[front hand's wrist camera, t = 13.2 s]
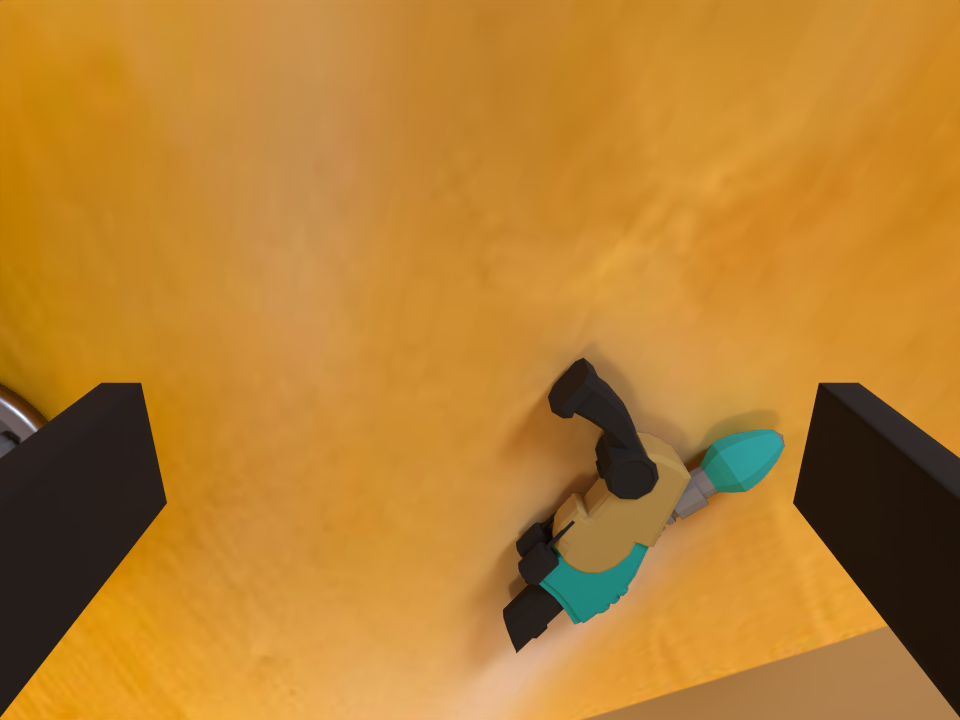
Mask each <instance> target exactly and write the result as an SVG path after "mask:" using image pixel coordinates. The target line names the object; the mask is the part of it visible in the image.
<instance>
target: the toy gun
mask: <svg viewBox="0 0 960 720" xmlns="http://www.w3.org/2000/svg"><path fill="white" fill-rule="evenodd" d="M548 399H549V403H550V407H551V410H552V412H553V413H555V414H556V415H558V416H560V417H562V418H572V417H573V414H574V413H576V414H578V415H580V416H582V417H584V418H586V419H588V420H590V421H591V422H593V423H594V424H596V425H597V426H599V427H600V428H602V429H603V430H604V435H603V436H601V438H600V440H599V442H598V444H597V446H596V448H595V451H596V455H597V459H598V460H597V461H596V465H597V469H598V472H599V475H600V477H599V479H598V480H597V481H596V482H595V484H594V485H593V486H592V487H591V488H590V490H589V491H588V492H587V493H586V495H585V496H583V497H581V496H580V493H575V492H573V494H572V495H571V496H570V497H569V498H568V499H567V500H566V502H565V503H564V504H563V505H562V506H561V507H560V508H559V509H558V510H557V511H556V512H555V513H554V514H553V515H552V516H551V517H550V518H549V519H548V520H547V521H546V522H545V523H544V524H541V523H538V522H537V523H535V524H534V525H533V526H532V527H531V528H530V529H529V530H528V531H527V532H526V533H525V534H524V535H523V536H522V537H521V538H520V539H519V540H518V541H517V542H516V547H517V551H518V553H519V554H520V556H521V557H522V558H523V559H522V560H521V561H520V562H519V563H518V567H519V572H520V574H521V575H522V577H523V578H524V579H525V582H526V583H527V584H529V583H530V584H529V585H528V586H527V587H526V588H525V589H524V590H523V591H522V592H521V593H520V594H519V595H518V596H517V597H516V598H515V599H514V600H513V601H511V602H510V603H509V604H508V605H507V606H506V607H505V608H504V609H503V618H504V621H505V624H506V627H507V631H508V633H509V636H510V638H511V641H512V643H513V646H514V648H515V650H516V653H517V652H518V651H519V650H521V649H522V648H523V647H524V646H525V645H526V644H527V643H528V642H529V641H530V640H531V639H532V638H537V637H539V636H540V635H541V634H542V633H543V632H544V631H545V630H546V629H547V624H548V623H549V622H550V621H551V620H552V619H553V618H554V617H556V616H557V615H558V614H559V613H560V612H561V611H562V610H563V609H565V611H566V612H567V614H568V615H569V617H570V618H571V620H572V621H573V623H574V624H577V623H579V622H582V623H585V622H586V621H588V620H589V619H590V618H592V617H593V616H595V615H596V614H597V613H603V612H605V611H606V610H608V609H609V607H610V604H615V603H616V602H617V601H618V600H619V599H620V596H624V595H625V594H626V593H627V591H628V585H629V584H630V582H631V581H632V580H633V578H634V577H635V575H636V573H637V571H638V569H639V567H640V564H641V562H642V560H643V558H644V556H645V554H646V552H647V550H648V547H653V546H654V545H655V543H656V541H657V539H658V538H659V537H660V534H661V532H662V531H663V530H665V527H664V526H665V524H666V523H668V524H669V525H671V524H672V523H674V522H676V519H675V518H677V517H679V516H680V517H681V518H682V519H684V518H686V517H687V516H689V515H691V514H693V513H694V512H696V511H698V510H700V509H701V508H703V507H705V506H706V505H708V504H709V503H708V502H707V500H706V499H707V498H709V497H710V496H712V495H714V494H716V493H717V492H732V493H734V492H746V491H748V490H749V489H751V488H752V487H754V486H755V485H756V484H758V483H759V482H760V481H761V480H762V479H763V478H764V477H765V476H766V475H767V473H768V472H769V471H770V469H771V468H772V467H773V466H774V464H775V463H776V462H777V460H778V459H779V457H780V455H781V453H782V450H783V448H784V446H785V445H784V440H783V435H781V434H779V433H778V432H776V431H774V430H753V431H748V432H743V433H737V434H733V435H730V436H727V437H725V438H722V439H720V440H718V441H716V442H714V443H713V444H712V445H711V446H710V448H709V450H708V451H707V453H706V455H705V457H704V459H703V461H702V463H701V465H700V466H699V467H697V468H696V469H694V470H692V471H690V472H688V471H687V469H686V467H685V466H684V464H683V462H682V460H681V459H680V457H679V455H678V454H677V453H676V452H675V450H674V449H673V448H672V447H671V446H670V445H669V444H667V443H666V442H664V441H663V440H661V439H659V438H657V437H655V436H653V435H651V434H646V433H639V432H636V430H635V426H634V424H633V422H632V420H631V417H630V415H629V413H628V411H627V409H626V407H625V405H624V403H623V402H622V400H621V399H620V398H619V397H618V396H617V395H616V393H615V392H614V391H613V390H612V389H611V387H610V386H609V385H608V384H607V383H606V382H604V381H603V380H602V379H600V378H599V377H598V376H597V374H596V372H595V369H594V367H593V366H592V365H591V364H590V363H589V362H588V361H587V360H586V359H584V358H582V359H580V360H578V361H575V362H574V364H573V365H572V366H571V367H570V368H569V369H568V370H567V371H566V372H565V373H564V375H563V376H562V377H561V378H560V379H559V380H558V381H557V382H556V383H555V384H554V385H553V387H552V389H551V392H550V394H549V396H548ZM553 521H554V525H553V531H551V530H550V529H549V528H548V526H549V525H550V524H551V523H552V522H553Z"/></svg>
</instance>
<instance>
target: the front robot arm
mask: <svg viewBox="0 0 960 720" xmlns="http://www.w3.org/2000/svg"><path fill="white" fill-rule="evenodd" d="M166 504H167V501H166V496H165V492H164V487H163V483H162V478H161V473H160V469H159V464H158V459H157V455H156V450H155V445H154V441H153V436H152V432H151V427H150V422H149V418H148V413H147V408H146V404H145V399H144V395H143V390H142V385H141V383H101V384H99V385H98V386H97V387H95V388H94V389H92V390H91V391H90V392H88V393H87V394H86V395H84V396H83V397H82V398H80V399H79V400H78V401H76V402H75V403H74V404H72V405H71V406H70V407H68V408H67V409H66V410H64V411H63V412H62V413H60V414H59V415H58V416H56V417H55V418H54V419H52V420H51V421H50V422H48V421H47V420H46V419H45V417H44V416H43V415H42V414H41V413H40V412H39V411H38V410H37V409H36V408H35V407H33V406H32V405H31V404H30V403H29V402H28V401H26V400H25V399H24V398H22V397H21V396H19V395H18V394H17V393H15V392H13V391H12V390H10V389H9V388H7V387H5V386H3V385H1V384H0V717H1V716H2V714H3V713H4V712H5V711H6V709H7V708H8V707H9V705H10V704H11V703H12V702H13V700H14V699H15V698H16V696H17V695H18V694H19V693H20V691H21V690H22V689H23V687H24V686H25V685H26V684H27V682H28V681H29V680H30V678H31V677H32V676H33V675H34V673H35V672H36V671H37V669H38V668H39V667H40V666H41V664H42V663H43V662H44V660H45V659H46V658H47V657H48V655H49V654H50V653H51V651H52V650H53V649H54V648H55V646H56V645H57V644H58V642H59V641H60V640H61V639H62V637H63V636H64V635H65V633H66V632H67V631H68V630H69V628H70V627H71V626H72V624H73V623H74V622H75V621H76V619H77V618H78V617H79V615H80V614H81V613H82V612H83V610H84V609H85V608H86V606H87V605H88V604H89V603H90V601H91V600H92V599H93V597H94V596H95V595H96V594H97V592H98V591H99V590H100V588H101V587H102V586H103V585H104V583H105V582H106V581H107V579H108V578H109V577H110V576H111V574H112V573H113V572H114V570H115V569H116V568H117V567H118V565H119V564H120V563H121V561H122V560H123V559H124V558H125V556H126V555H127V554H128V552H129V551H130V550H131V549H132V547H133V546H134V545H135V543H136V542H137V541H138V540H139V538H140V537H141V536H142V534H143V533H144V532H145V531H146V529H147V528H148V527H149V525H150V524H151V523H152V522H153V520H154V519H155V518H156V516H157V515H158V514H159V513H160V511H161V510H162V509H163V507H164V506H165V505H166ZM793 504H794V505H795V506H796V507H797V509H798V510H799V511H800V513H801V514H802V515H803V516H804V518H805V519H806V520H807V522H808V523H809V524H810V525H811V527H812V528H813V529H814V531H815V532H816V533H817V534H818V536H819V537H820V538H821V540H822V541H823V542H824V543H825V545H826V546H827V547H828V549H829V550H830V551H831V552H832V554H833V555H834V556H835V558H836V559H837V560H838V561H839V563H840V564H841V565H842V567H843V568H844V569H845V570H846V572H847V573H848V574H849V576H850V577H851V578H852V579H853V581H854V582H855V583H856V585H857V586H858V587H859V588H860V590H861V591H862V592H863V594H864V595H865V596H866V597H867V599H868V600H869V601H870V603H871V604H872V605H873V606H874V608H875V609H876V610H877V612H878V613H879V614H880V615H881V617H882V618H883V619H884V621H885V622H886V623H887V624H888V626H889V627H890V628H891V630H892V631H893V632H894V633H895V635H896V636H897V637H898V638H899V640H900V641H901V642H902V644H903V645H904V646H905V648H906V649H907V650H908V651H909V653H910V654H911V655H912V657H913V658H914V659H915V660H916V662H917V663H918V664H919V666H920V667H921V668H922V669H923V671H924V672H925V673H926V675H927V676H928V677H929V678H930V680H931V681H932V682H933V684H934V685H935V686H936V687H937V689H938V690H939V691H940V692H941V694H942V695H943V696H944V698H945V699H946V700H947V702H948V703H949V704H950V705H951V707H952V708H953V709H954V711H955V712H956V713H957V714H958V716H959V717H960V458H959V457H957V456H956V455H955V454H953V453H952V452H951V451H949V450H948V449H947V448H945V447H944V446H943V445H941V444H940V443H939V442H937V441H936V440H935V439H933V438H932V437H931V436H929V435H928V434H927V433H925V432H924V431H923V430H921V429H920V428H918V427H917V426H916V425H914V424H913V423H912V422H910V421H909V420H908V419H906V418H905V417H904V416H902V415H901V414H900V413H898V412H897V411H896V410H894V409H893V408H892V407H890V406H889V405H888V404H886V403H885V402H884V401H882V400H881V399H880V398H878V397H877V396H876V395H874V394H873V393H872V392H870V391H869V390H868V389H866V388H865V387H863V386H862V385H861V384H859V383H819V385H818V390H817V395H816V399H815V404H814V408H813V413H812V418H811V422H810V427H809V432H808V436H807V441H806V445H805V450H804V455H803V459H802V464H801V469H800V473H799V478H798V483H797V487H796V492H795V496H794V501H793Z"/></svg>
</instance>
